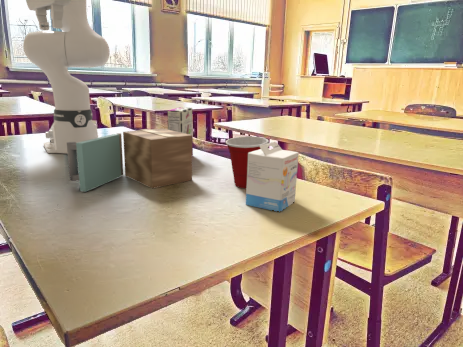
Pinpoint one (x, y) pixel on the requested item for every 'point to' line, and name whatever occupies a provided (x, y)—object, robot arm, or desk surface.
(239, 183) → the plastic cup
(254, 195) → the ink box
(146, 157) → the carton
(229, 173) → the desk surface
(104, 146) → the flap
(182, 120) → the candy bar box
